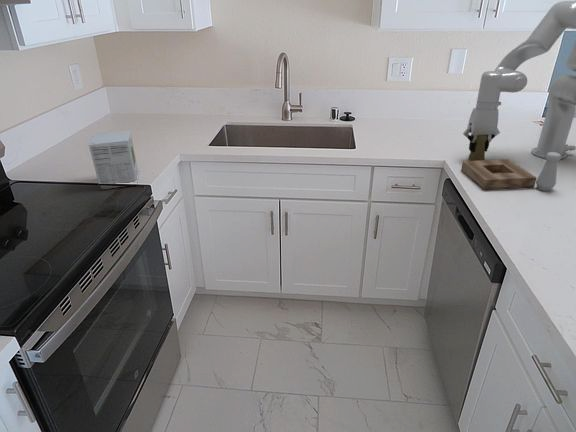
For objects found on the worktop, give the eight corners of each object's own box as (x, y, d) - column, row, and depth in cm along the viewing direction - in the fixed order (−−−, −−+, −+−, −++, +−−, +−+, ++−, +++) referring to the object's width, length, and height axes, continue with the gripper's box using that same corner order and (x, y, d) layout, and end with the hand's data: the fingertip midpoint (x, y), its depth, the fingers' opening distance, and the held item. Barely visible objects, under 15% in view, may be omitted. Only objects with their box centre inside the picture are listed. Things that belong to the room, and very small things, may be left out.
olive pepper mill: (467, 160, 169) (472, 134, 164) (469, 156, 174) (474, 130, 168) (483, 163, 166) (488, 136, 161) (485, 158, 171) (490, 132, 166)
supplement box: (137, 186, 154) (128, 140, 146) (99, 191, 151) (87, 144, 143) (139, 173, 165) (130, 130, 157) (104, 177, 162) (93, 133, 154)
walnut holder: (506, 168, 161) (508, 159, 159) (533, 188, 145) (536, 177, 143) (460, 171, 160) (462, 161, 158) (483, 190, 144) (485, 179, 142)
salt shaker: (547, 185, 147) (557, 150, 141) (557, 192, 142) (568, 155, 135) (531, 185, 147) (540, 150, 140) (540, 192, 142) (550, 156, 135)
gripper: (503, 102, 163) (493, 146, 172) (461, 104, 163) (453, 148, 171) (513, 106, 157) (503, 153, 165) (469, 108, 156) (461, 155, 165)
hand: (478, 150), depth 168 cm, fingers closed on olive pepper mill, 4 cm apart
